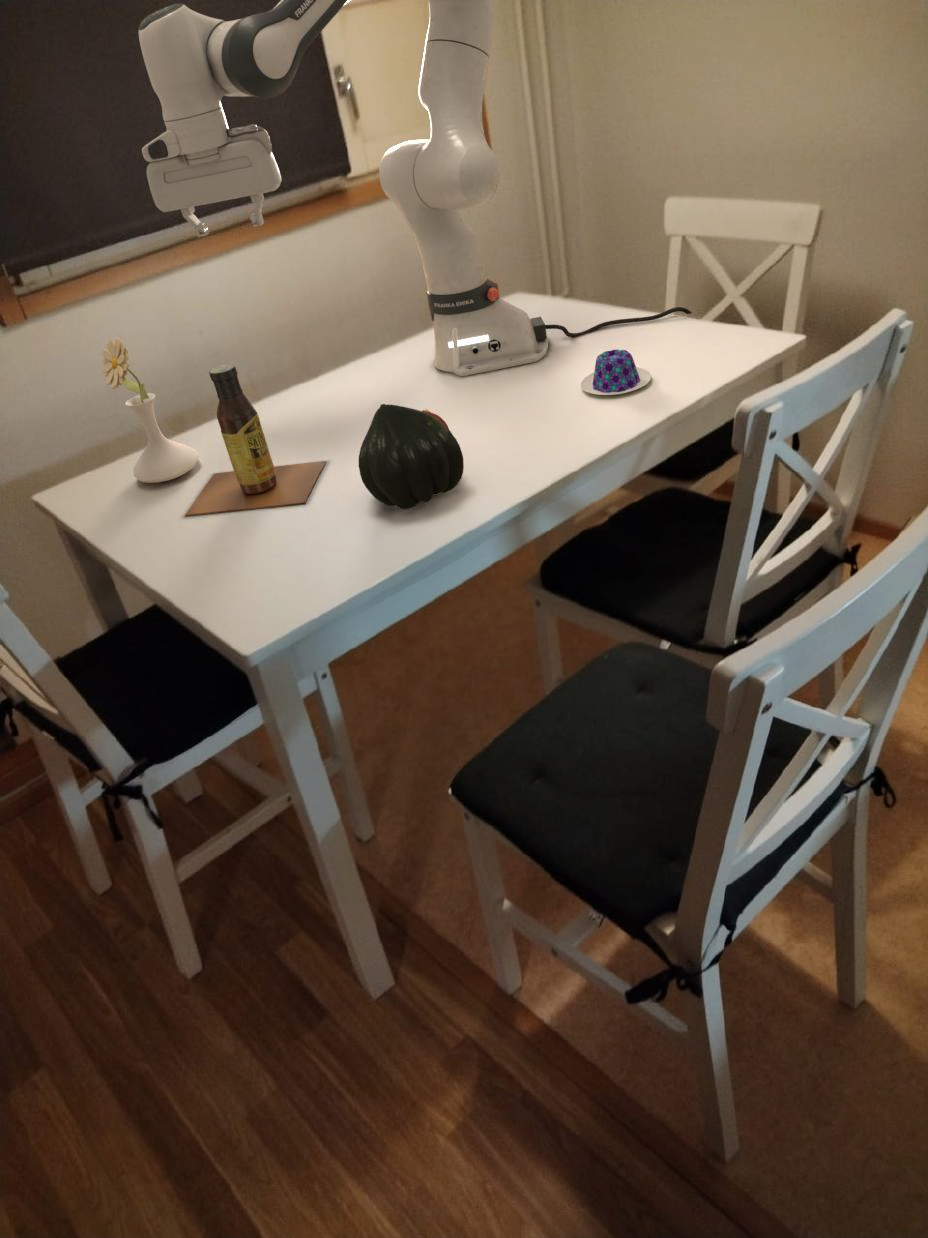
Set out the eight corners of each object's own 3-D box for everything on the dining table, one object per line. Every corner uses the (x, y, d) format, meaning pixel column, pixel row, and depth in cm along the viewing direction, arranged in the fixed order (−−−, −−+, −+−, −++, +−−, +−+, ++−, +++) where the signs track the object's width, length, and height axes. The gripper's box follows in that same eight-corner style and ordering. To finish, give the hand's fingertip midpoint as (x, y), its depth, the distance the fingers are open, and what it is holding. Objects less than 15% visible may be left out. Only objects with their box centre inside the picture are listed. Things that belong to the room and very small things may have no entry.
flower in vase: (133, 472, 165) (75, 335, 151) (195, 451, 168) (144, 315, 154) (142, 499, 155) (81, 355, 141) (208, 477, 158) (155, 333, 143)
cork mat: (326, 462, 154) (325, 460, 154) (305, 503, 143) (304, 502, 143) (214, 474, 158) (213, 473, 158) (185, 516, 147) (185, 514, 147)
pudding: (593, 370, 166) (591, 341, 163) (659, 370, 161) (658, 341, 158) (571, 398, 158) (567, 368, 155) (640, 399, 153) (637, 369, 150)
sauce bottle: (271, 495, 147) (231, 375, 136) (235, 497, 149) (193, 379, 137) (284, 475, 152) (247, 358, 141) (250, 478, 154) (210, 362, 142)
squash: (478, 473, 129) (440, 376, 130) (376, 508, 127) (339, 409, 129) (469, 501, 143) (435, 412, 144) (377, 533, 141) (344, 443, 143)
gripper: (270, 117, 140) (297, 213, 148) (146, 143, 144) (179, 235, 152) (259, 125, 135) (287, 224, 143) (131, 152, 139) (166, 246, 147)
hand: (231, 230), depth 148 cm, fingers open, 8 cm apart
